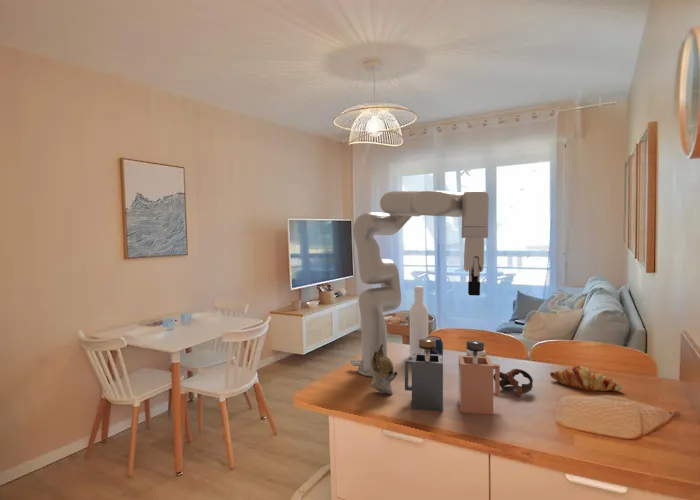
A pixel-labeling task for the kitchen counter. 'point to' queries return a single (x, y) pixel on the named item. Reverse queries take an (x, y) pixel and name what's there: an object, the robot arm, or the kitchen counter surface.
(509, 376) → the brown curved piece
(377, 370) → the ceramic sculpture
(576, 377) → the croissant
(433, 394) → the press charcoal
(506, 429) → the kitchen counter surface
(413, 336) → the bottle
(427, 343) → the plunger bronze
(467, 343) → the grey plunger
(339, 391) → the kitchen counter surface
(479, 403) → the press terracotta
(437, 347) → the soda can
